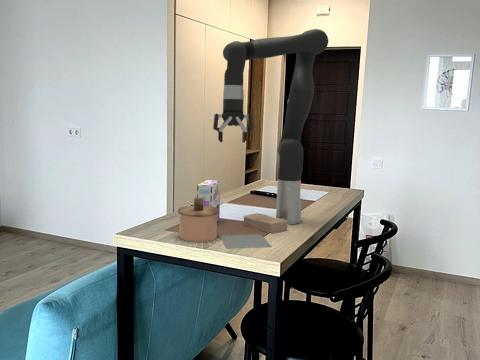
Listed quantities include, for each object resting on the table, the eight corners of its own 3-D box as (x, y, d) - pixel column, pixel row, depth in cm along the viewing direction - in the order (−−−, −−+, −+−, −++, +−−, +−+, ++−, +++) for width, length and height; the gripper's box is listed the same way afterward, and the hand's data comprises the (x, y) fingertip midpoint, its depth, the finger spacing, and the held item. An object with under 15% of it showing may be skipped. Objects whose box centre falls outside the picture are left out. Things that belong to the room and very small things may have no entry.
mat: (260, 235, 166) (261, 234, 166) (271, 248, 151) (271, 246, 151) (219, 236, 163) (219, 235, 163) (226, 249, 148) (226, 248, 148)
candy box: (211, 228, 173) (211, 185, 171) (195, 227, 174) (196, 184, 172) (220, 220, 187) (220, 179, 184) (205, 219, 188) (206, 179, 185)
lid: (215, 207, 168) (215, 194, 167) (221, 216, 155) (222, 202, 154) (176, 208, 165) (176, 194, 165) (179, 217, 152) (179, 202, 151)
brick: (242, 226, 180) (242, 214, 179) (258, 222, 185) (258, 211, 184) (271, 236, 167) (272, 223, 166) (288, 232, 173) (288, 220, 172)
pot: (213, 232, 169) (213, 207, 167) (218, 241, 156) (219, 215, 155) (178, 233, 166) (178, 208, 165) (181, 243, 154) (181, 216, 153)
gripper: (250, 98, 176) (248, 141, 178) (212, 97, 173) (212, 141, 175) (254, 98, 168) (253, 143, 171) (215, 97, 166) (214, 142, 168)
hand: (232, 142), depth 173 cm, fingers open, 8 cm apart
